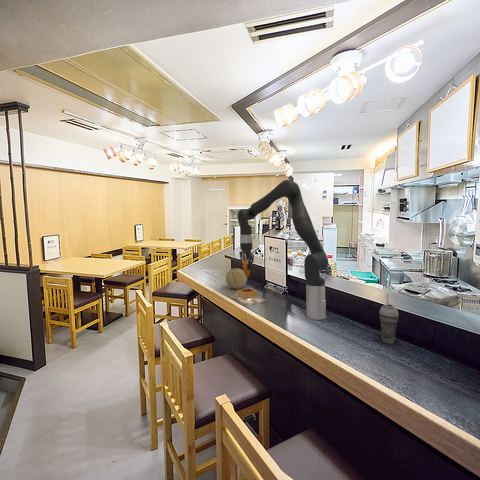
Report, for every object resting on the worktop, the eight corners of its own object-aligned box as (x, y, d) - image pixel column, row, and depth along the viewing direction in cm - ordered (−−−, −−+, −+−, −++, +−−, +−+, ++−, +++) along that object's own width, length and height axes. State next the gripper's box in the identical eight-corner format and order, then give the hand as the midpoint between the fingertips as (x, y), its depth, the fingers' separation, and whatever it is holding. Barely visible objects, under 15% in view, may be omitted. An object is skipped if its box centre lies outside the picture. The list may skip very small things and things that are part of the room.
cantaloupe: (250, 289, 196) (249, 268, 194) (230, 292, 190) (229, 271, 189) (242, 284, 209) (241, 265, 208) (223, 287, 204) (223, 267, 202)
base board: (248, 293, 187) (248, 291, 187) (265, 301, 170) (265, 299, 170) (230, 297, 180) (230, 295, 180) (246, 306, 163) (246, 304, 163)
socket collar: (250, 293, 184) (250, 286, 183) (261, 298, 172) (261, 291, 172) (233, 296, 177) (233, 289, 177) (243, 302, 166) (243, 294, 165)
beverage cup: (387, 346, 112) (389, 298, 110) (374, 338, 119) (375, 292, 117) (402, 343, 114) (403, 296, 112) (388, 335, 121) (389, 291, 119)
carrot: (250, 277, 176) (250, 253, 174) (251, 279, 171) (250, 254, 169) (242, 277, 176) (242, 253, 174) (243, 279, 171) (242, 255, 169)
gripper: (257, 242, 167) (258, 270, 168) (245, 240, 179) (246, 266, 181) (247, 243, 163) (247, 272, 165) (235, 241, 175) (235, 267, 177)
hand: (246, 268), depth 173 cm, fingers closed on carrot, 4 cm apart
